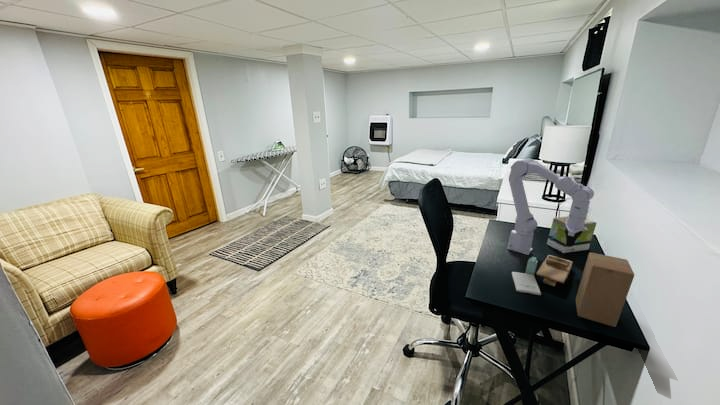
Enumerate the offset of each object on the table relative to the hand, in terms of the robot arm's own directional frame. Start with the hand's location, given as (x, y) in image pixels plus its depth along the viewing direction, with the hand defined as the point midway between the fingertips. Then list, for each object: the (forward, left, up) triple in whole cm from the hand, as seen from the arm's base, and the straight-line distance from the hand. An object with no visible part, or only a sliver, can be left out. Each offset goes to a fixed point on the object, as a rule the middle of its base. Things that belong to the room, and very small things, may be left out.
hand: (569, 245), depth 121 cm
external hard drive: (-9, -26, -11) cm, 29 cm away
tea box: (-2, +20, -10) cm, 23 cm away
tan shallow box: (-2, -11, -10) cm, 15 cm away
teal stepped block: (-10, -16, -10) cm, 21 cm away
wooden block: (+13, -28, -10) cm, 32 cm away
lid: (-2, -16, -6) cm, 17 cm away
